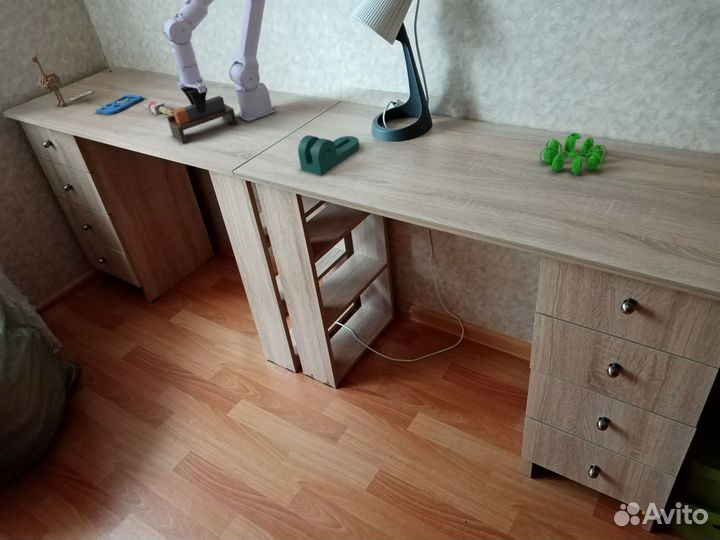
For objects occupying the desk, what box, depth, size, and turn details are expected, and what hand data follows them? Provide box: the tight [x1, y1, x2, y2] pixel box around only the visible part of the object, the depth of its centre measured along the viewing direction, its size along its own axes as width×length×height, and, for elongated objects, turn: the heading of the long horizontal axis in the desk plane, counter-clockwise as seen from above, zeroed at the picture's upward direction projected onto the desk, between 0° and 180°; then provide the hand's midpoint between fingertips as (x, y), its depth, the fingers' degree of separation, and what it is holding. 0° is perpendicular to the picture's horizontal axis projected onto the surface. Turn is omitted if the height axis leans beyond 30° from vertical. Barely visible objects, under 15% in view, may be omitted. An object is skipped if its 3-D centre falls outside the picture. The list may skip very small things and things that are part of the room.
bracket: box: [297, 134, 360, 177], centre depth 144 cm, size 18×7×8 cm, turn 143°
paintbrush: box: [141, 101, 174, 116], centre depth 186 cm, size 4×3×20 cm
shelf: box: [166, 103, 238, 144], centre depth 169 cm, size 18×8×6 cm, turn 127°
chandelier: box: [539, 132, 609, 176], centre depth 129 cm, size 15×15×7 cm
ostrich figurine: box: [29, 55, 93, 108], centre depth 201 cm, size 17×7×18 cm, turn 144°
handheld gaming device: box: [95, 94, 144, 115], centre depth 196 cm, size 8×1×15 cm
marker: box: [172, 95, 226, 124], centre depth 166 cm, size 15×3×4 cm, turn 127°
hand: (200, 110), depth 166 cm, fingers closed on marker, 2 cm apart
